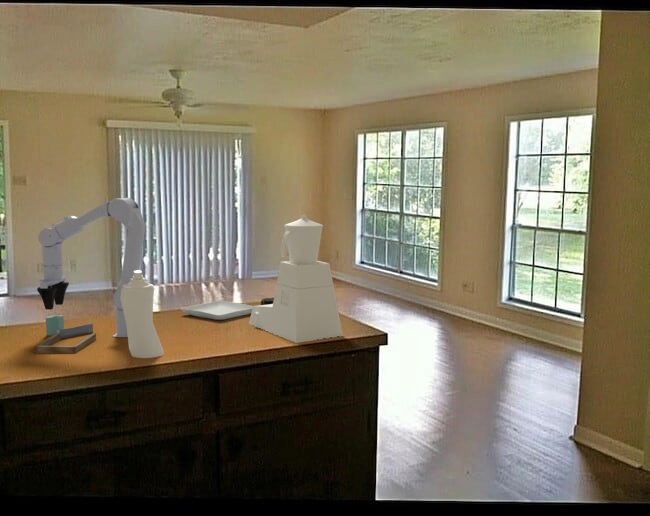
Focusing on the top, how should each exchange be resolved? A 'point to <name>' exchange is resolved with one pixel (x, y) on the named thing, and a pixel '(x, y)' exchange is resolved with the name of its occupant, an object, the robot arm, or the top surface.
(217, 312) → the salad plate
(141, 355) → the white bottle
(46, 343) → the bay
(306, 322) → the blender
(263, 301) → the tape measure
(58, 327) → the teal block
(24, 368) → the top surface
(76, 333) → the gate
